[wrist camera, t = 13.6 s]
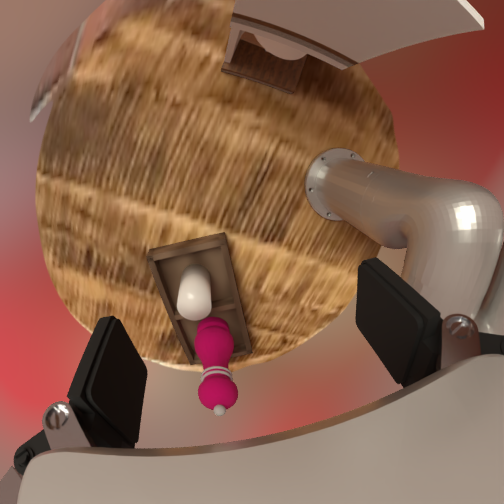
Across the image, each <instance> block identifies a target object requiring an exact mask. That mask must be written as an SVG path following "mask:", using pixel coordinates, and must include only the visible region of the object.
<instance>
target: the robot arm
mask: <svg viewBox="0 0 504 504" xmlns="http://www.w3.org/2000/svg"><path fill="white" fill-rule="evenodd" d="M321 158H323V159H322V160H321ZM309 188H311V190H309ZM305 193H306V197H307V200H308V202H309V204H310V205H311V207H312V208H313V209H314V210H315V211H316V212H317V213H318V214H319V215H321V216H322V217H324V218H326V219H329V220H334V221H341V220H345V221H346V222H348V223H349V224H351V225H352V226H354V227H355V228H357V229H358V230H360V231H361V232H362V233H364V234H365V235H367V236H368V237H370V238H371V239H372V240H374V241H376V242H377V243H379V244H380V245H382V246H384V247H387V248H392V249H402V248H407V251H406V256H405V260H404V266H403V271H402V274H401V277H399V276H398V275H397V274H396V273H395V272H394V271H392V270H391V269H390V268H389V267H388V266H387V265H385V264H384V263H383V262H381V261H380V260H379V259H378V258H376V257H375V258H371V259H367V260H363V261H362V263H361V265H359V267H358V283H357V304H356V325H357V327H358V328H359V330H360V331H361V333H362V334H363V335H364V337H365V338H366V340H367V341H368V343H369V344H370V345H371V347H372V348H373V350H374V351H375V352H376V354H377V355H378V357H379V358H380V360H381V361H382V363H383V364H384V365H385V367H386V368H387V370H388V371H389V373H390V374H391V376H392V377H393V379H394V380H395V382H396V383H397V384H400V383H401V385H402V386H403V389H401V390H399V391H397V392H395V393H392V394H390V395H388V396H386V397H383V398H381V399H379V400H377V401H374V402H372V403H369V404H367V405H365V406H362V407H359V408H357V409H354V410H352V411H349V412H346V413H343V414H341V415H338V416H335V417H332V418H329V419H326V420H323V421H320V422H316V423H314V424H310V425H306V426H303V427H299V428H295V429H292V430H288V431H284V432H280V433H275V434H271V435H266V436H262V437H257V438H252V439H246V440H241V441H234V442H227V443H221V444H213V445H204V446H193V447H181V448H159V449H156V448H155V449H134V447H135V443H137V442H138V439H139V430H140V422H141V414H142V406H143V399H144V393H145V386H146V380H147V368H146V366H145V364H144V362H143V360H142V359H141V357H140V355H139V354H138V352H137V350H136V348H135V347H134V345H133V343H132V341H131V339H130V338H129V336H128V334H127V332H126V330H125V328H124V326H123V324H122V323H121V321H120V320H119V319H116V318H115V317H114V316H109V317H103V318H100V319H99V321H98V323H97V325H96V327H95V329H94V331H93V334H92V336H91V338H90V340H89V342H88V345H87V347H86V349H85V352H84V354H83V356H82V359H81V361H80V363H79V366H78V368H77V371H76V373H75V376H74V378H73V381H72V383H71V386H70V389H69V392H68V395H67V397H68V398H69V399H70V401H69V404H68V403H66V402H63V401H59V402H55V403H53V404H52V405H51V406H49V407H48V408H47V410H46V411H45V413H44V415H43V419H42V424H43V428H44V429H43V430H42V431H41V432H39V433H38V434H37V435H35V436H34V437H32V438H31V439H30V440H28V441H27V442H26V443H25V444H23V445H21V446H20V447H19V448H18V449H17V451H16V453H15V456H14V466H15V468H14V467H13V466H11V468H10V469H9V470H8V472H7V473H6V475H5V476H4V477H3V479H2V480H1V481H0V504H504V242H503V245H502V240H503V232H504V219H503V213H502V209H501V206H500V204H499V202H498V200H497V199H496V197H495V196H494V195H493V194H492V193H491V192H490V191H489V190H487V189H486V188H484V187H482V186H480V185H477V184H474V183H472V182H467V181H462V180H453V179H443V178H434V177H426V176H422V175H418V174H413V173H409V172H405V171H401V170H397V169H393V168H389V167H385V166H381V165H377V164H372V163H368V162H365V161H364V160H363V159H362V157H361V156H359V155H358V154H357V153H356V152H353V151H351V150H349V149H344V148H332V149H329V150H326V151H324V152H322V153H321V154H319V155H318V156H317V157H316V158H315V159H314V160H313V162H312V163H311V164H310V166H309V168H308V170H307V173H306V177H305ZM327 213H328V214H327ZM501 246H502V248H501Z"/></svg>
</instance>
